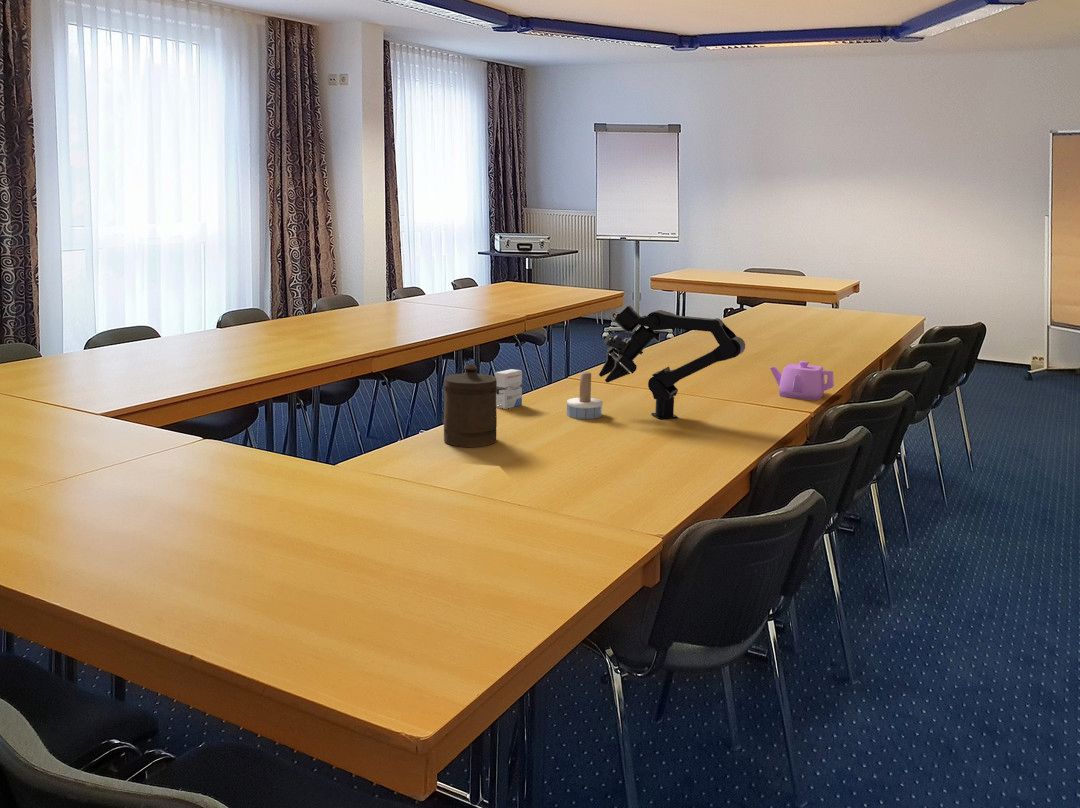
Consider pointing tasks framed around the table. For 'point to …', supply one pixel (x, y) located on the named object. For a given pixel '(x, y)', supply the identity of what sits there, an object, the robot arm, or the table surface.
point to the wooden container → (470, 409)
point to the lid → (585, 394)
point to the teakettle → (803, 381)
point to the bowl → (584, 412)
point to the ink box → (509, 388)
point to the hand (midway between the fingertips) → (602, 378)
